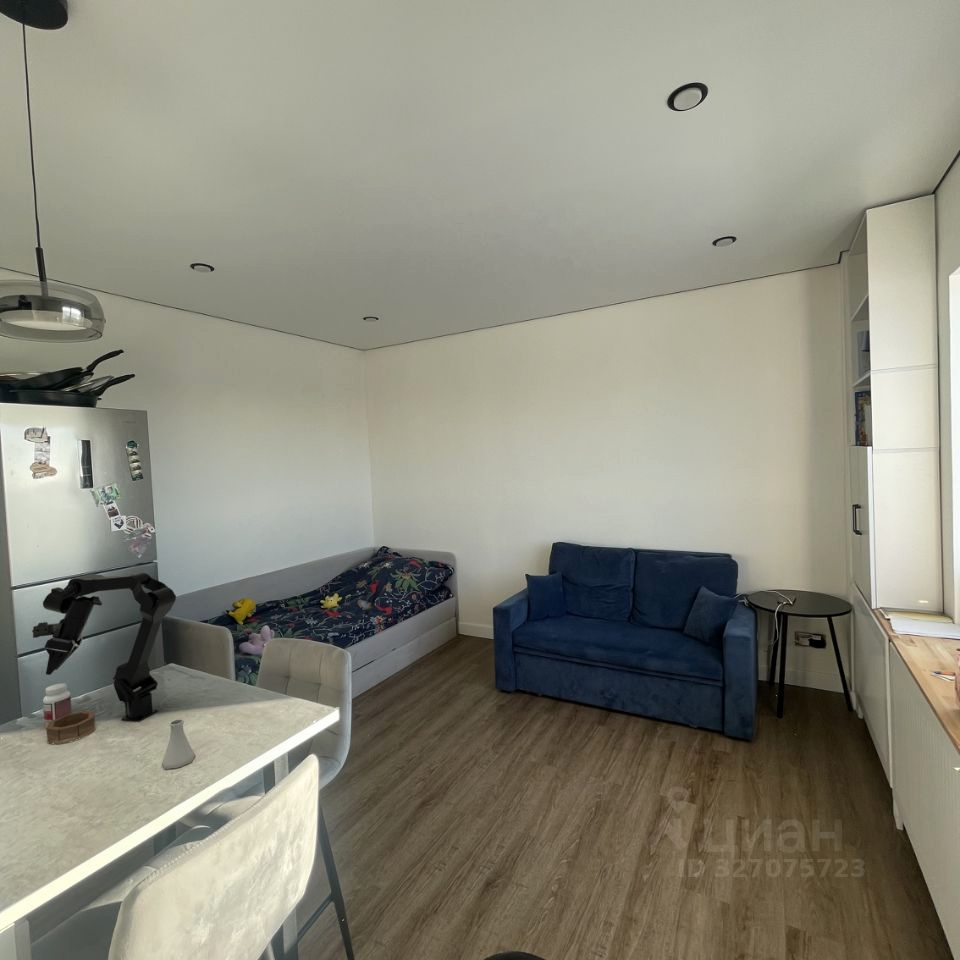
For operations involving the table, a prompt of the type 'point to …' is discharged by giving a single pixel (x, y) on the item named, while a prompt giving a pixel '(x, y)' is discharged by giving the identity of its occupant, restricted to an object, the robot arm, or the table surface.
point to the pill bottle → (56, 702)
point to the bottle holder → (71, 727)
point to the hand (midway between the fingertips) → (51, 672)
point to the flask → (177, 747)
